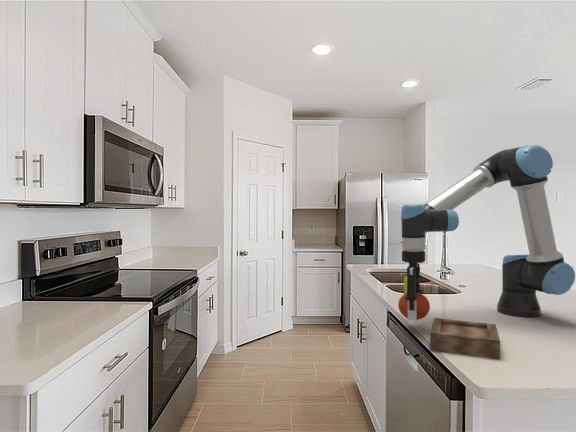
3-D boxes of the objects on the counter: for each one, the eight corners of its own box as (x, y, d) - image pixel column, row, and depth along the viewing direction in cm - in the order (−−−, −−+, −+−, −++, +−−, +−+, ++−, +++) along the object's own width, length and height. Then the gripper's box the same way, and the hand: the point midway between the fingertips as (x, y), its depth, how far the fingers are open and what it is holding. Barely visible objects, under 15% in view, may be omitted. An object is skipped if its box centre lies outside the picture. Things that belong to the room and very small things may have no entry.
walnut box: (495, 340, 128) (495, 324, 128) (500, 359, 111) (500, 341, 111) (434, 333, 135) (434, 317, 135) (430, 350, 118) (430, 332, 118)
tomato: (412, 325, 132) (411, 294, 132) (392, 317, 141) (391, 288, 141) (436, 321, 136) (436, 291, 136) (415, 314, 145) (415, 286, 145)
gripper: (406, 246, 150) (406, 306, 150) (396, 253, 129) (397, 323, 130) (427, 247, 147) (428, 308, 147) (421, 254, 126) (422, 325, 127)
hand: (414, 315), depth 138 cm, fingers closed on tomato, 10 cm apart
